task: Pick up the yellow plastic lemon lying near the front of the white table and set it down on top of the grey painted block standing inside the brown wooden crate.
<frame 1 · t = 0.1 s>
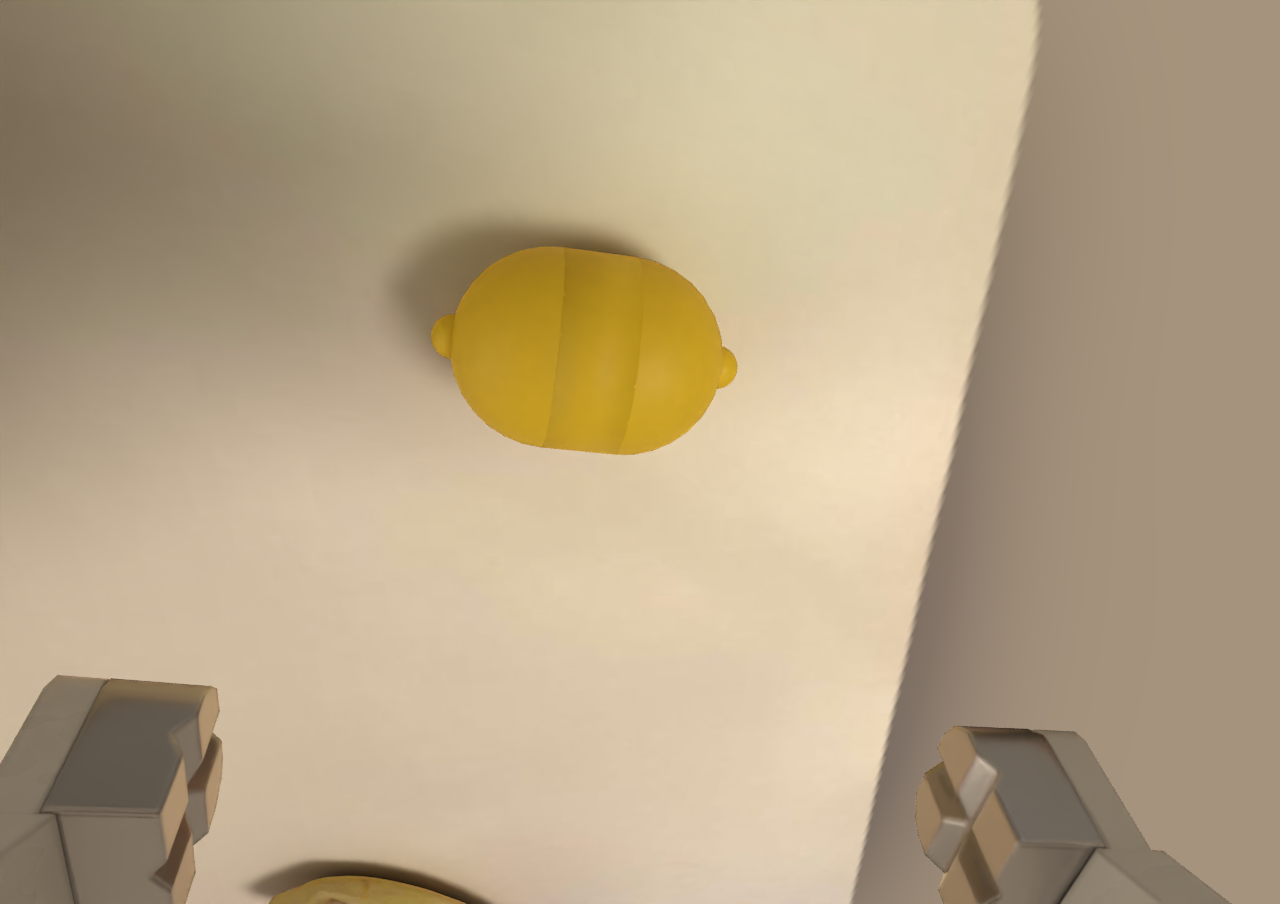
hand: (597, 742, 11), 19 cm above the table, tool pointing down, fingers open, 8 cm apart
lemon: (583, 310, 29), on the table
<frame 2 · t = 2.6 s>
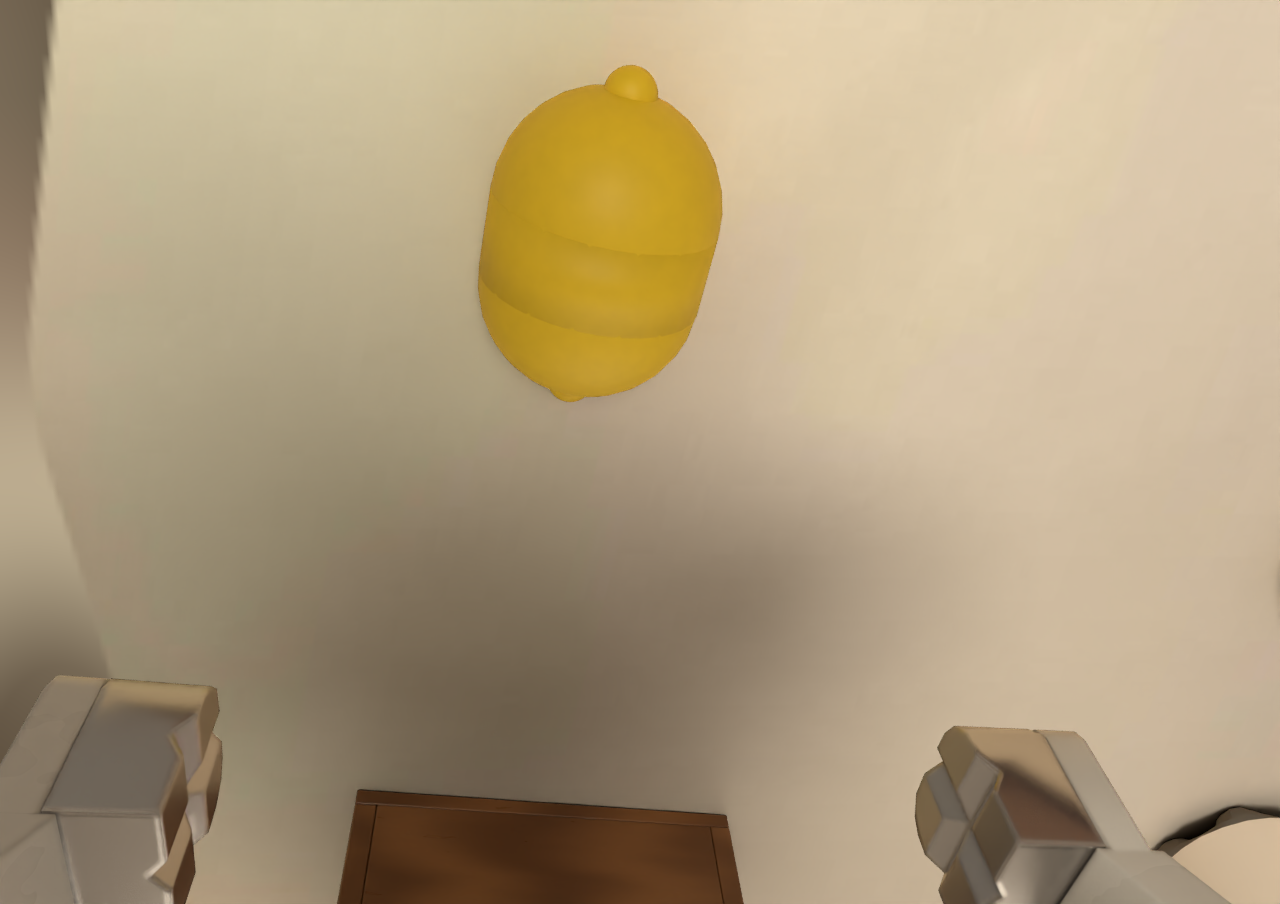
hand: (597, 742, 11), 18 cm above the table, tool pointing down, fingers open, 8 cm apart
cup: (1220, 849, 45), on the table
lemon: (592, 209, 26), on the table
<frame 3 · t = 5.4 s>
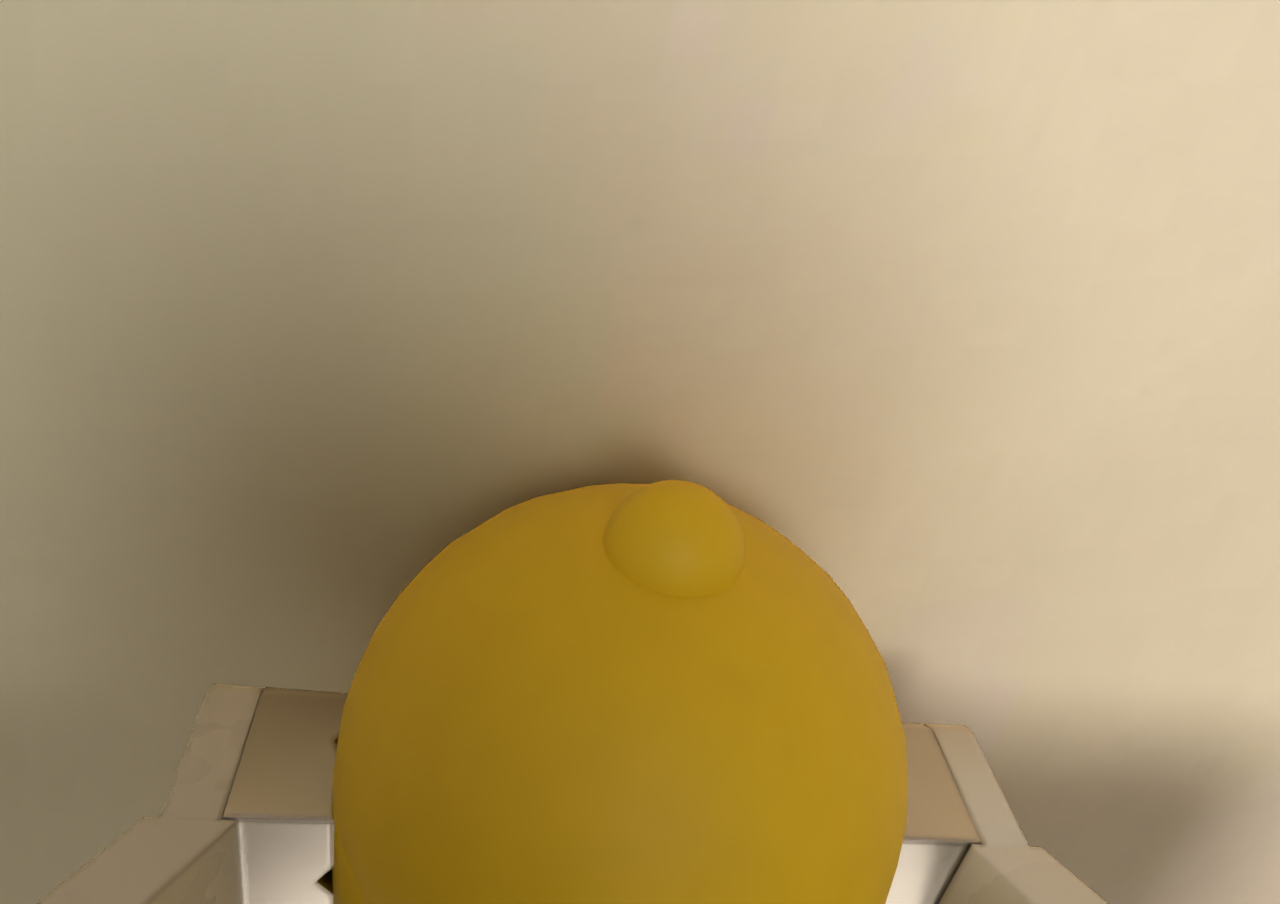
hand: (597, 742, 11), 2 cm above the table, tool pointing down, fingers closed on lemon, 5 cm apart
lemon: (593, 640, 12), on the table, touching gripper
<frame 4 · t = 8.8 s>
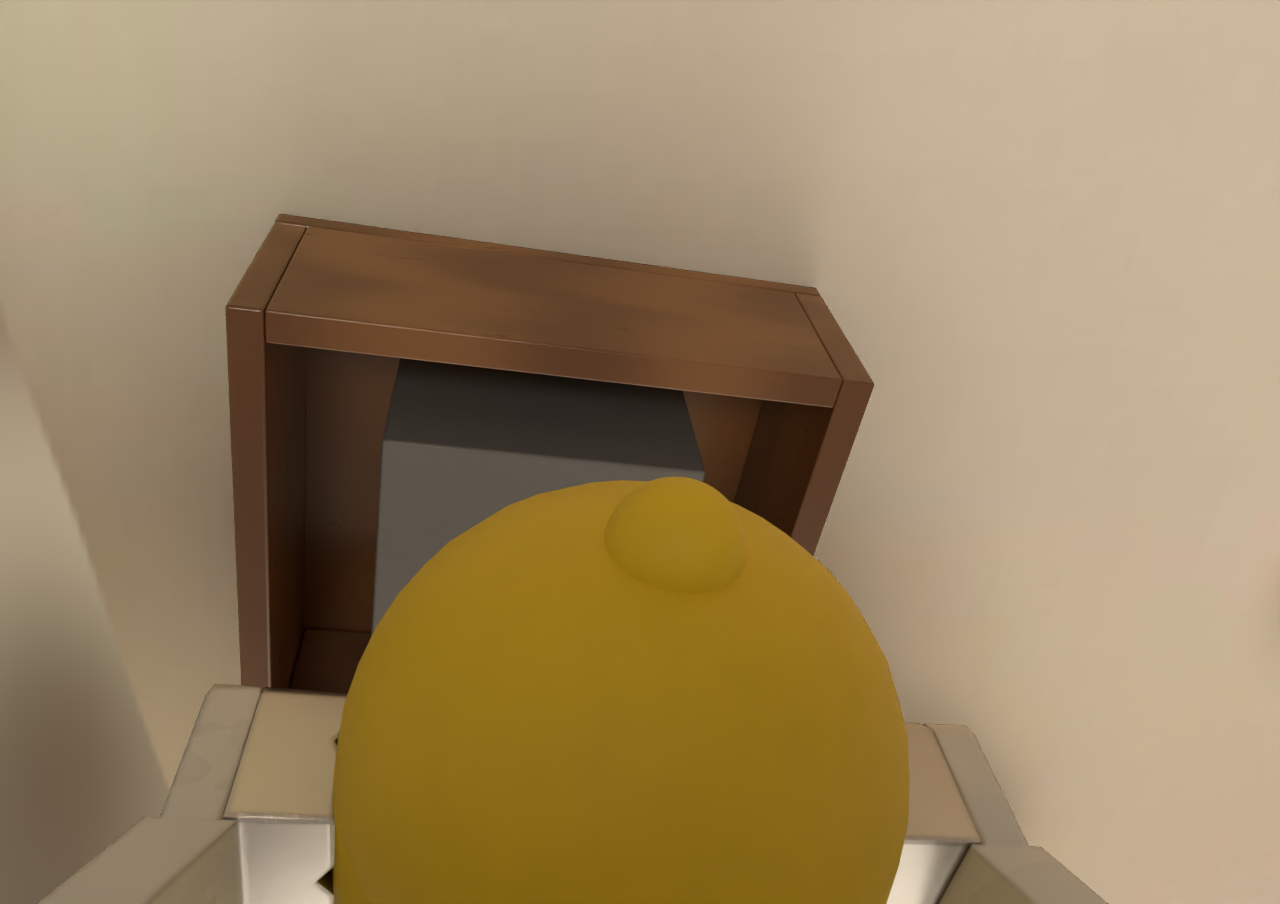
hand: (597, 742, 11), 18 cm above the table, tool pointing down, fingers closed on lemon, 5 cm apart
block: (527, 484, 30), point 1 cm above the table, touching crate
crate: (527, 473, 30), on the table
lemon: (594, 638, 12), point 16 cm above the table, touching gripper
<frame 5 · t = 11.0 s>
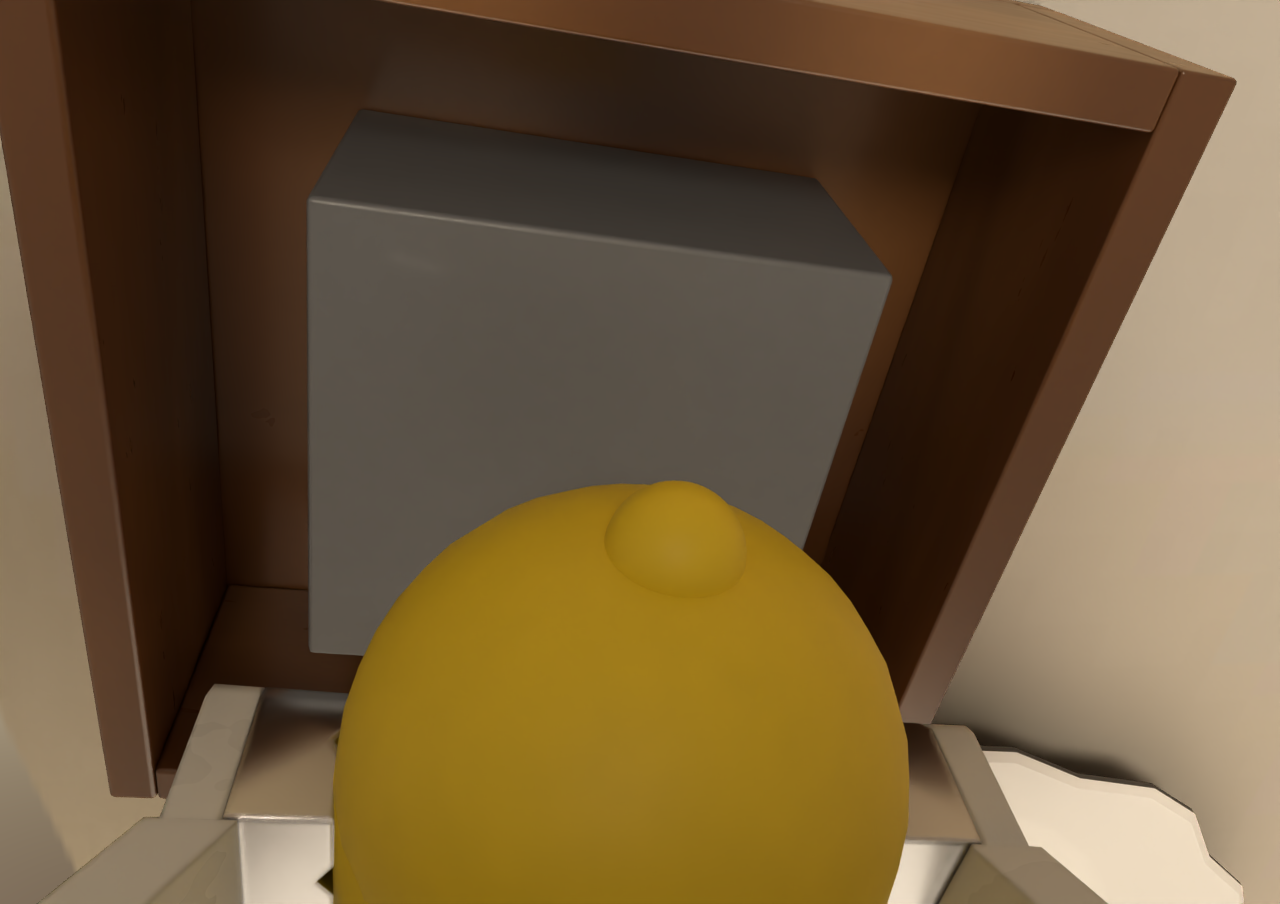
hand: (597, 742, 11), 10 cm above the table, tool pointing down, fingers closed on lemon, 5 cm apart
block: (566, 350, 19), point 1 cm above the table, touching crate
crate: (565, 336, 19), on the table
lemon: (594, 641, 12), point 9 cm above the table, touching gripper
when the fingers open (7 cm above the table, at t = 12.4 s): lemon stays where it is, resting on block.
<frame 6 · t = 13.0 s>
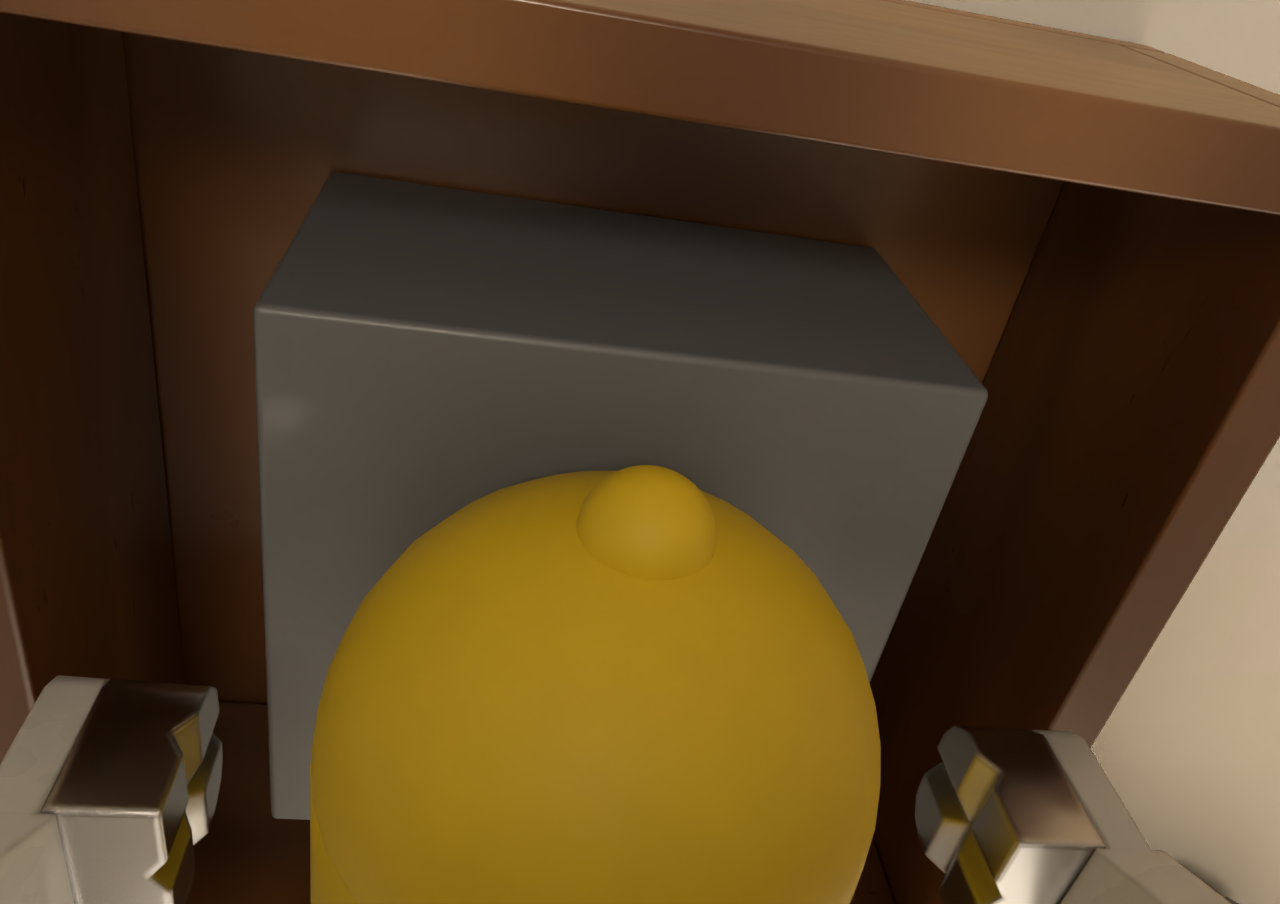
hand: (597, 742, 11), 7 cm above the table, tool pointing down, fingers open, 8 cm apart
block: (577, 442, 16), point 1 cm above the table, touching crate, lemon
crate: (576, 423, 17), on the table
lemon: (597, 632, 12), point 5 cm above the table, tilted 6°, touching block
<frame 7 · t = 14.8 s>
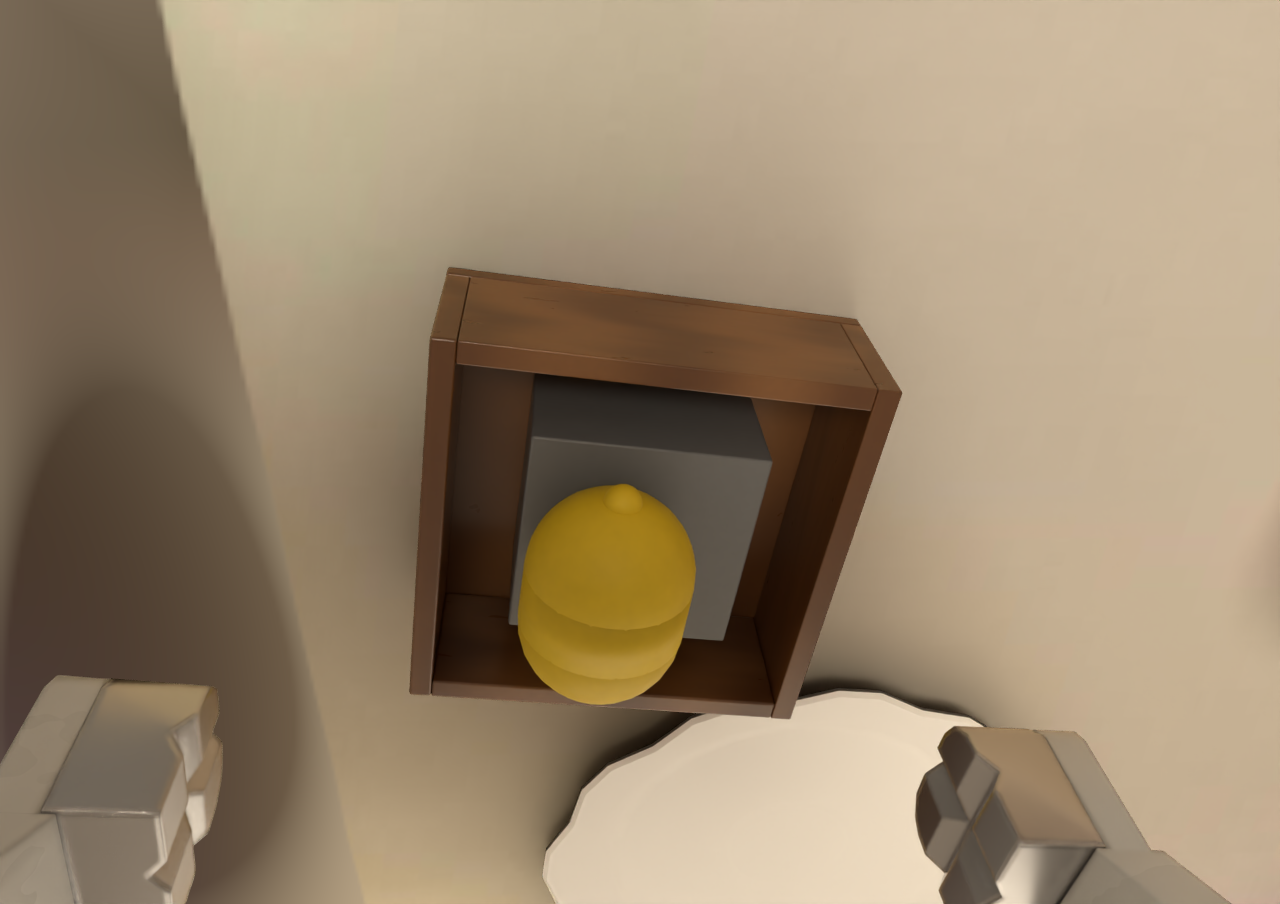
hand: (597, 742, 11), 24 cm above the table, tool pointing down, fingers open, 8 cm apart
block: (627, 475, 38), point 1 cm above the table, touching crate, lemon
crate: (626, 467, 38), on the table
plate: (787, 839, 51), on the table
lemon: (636, 552, 34), point 5 cm above the table, tilted 26°, touching block
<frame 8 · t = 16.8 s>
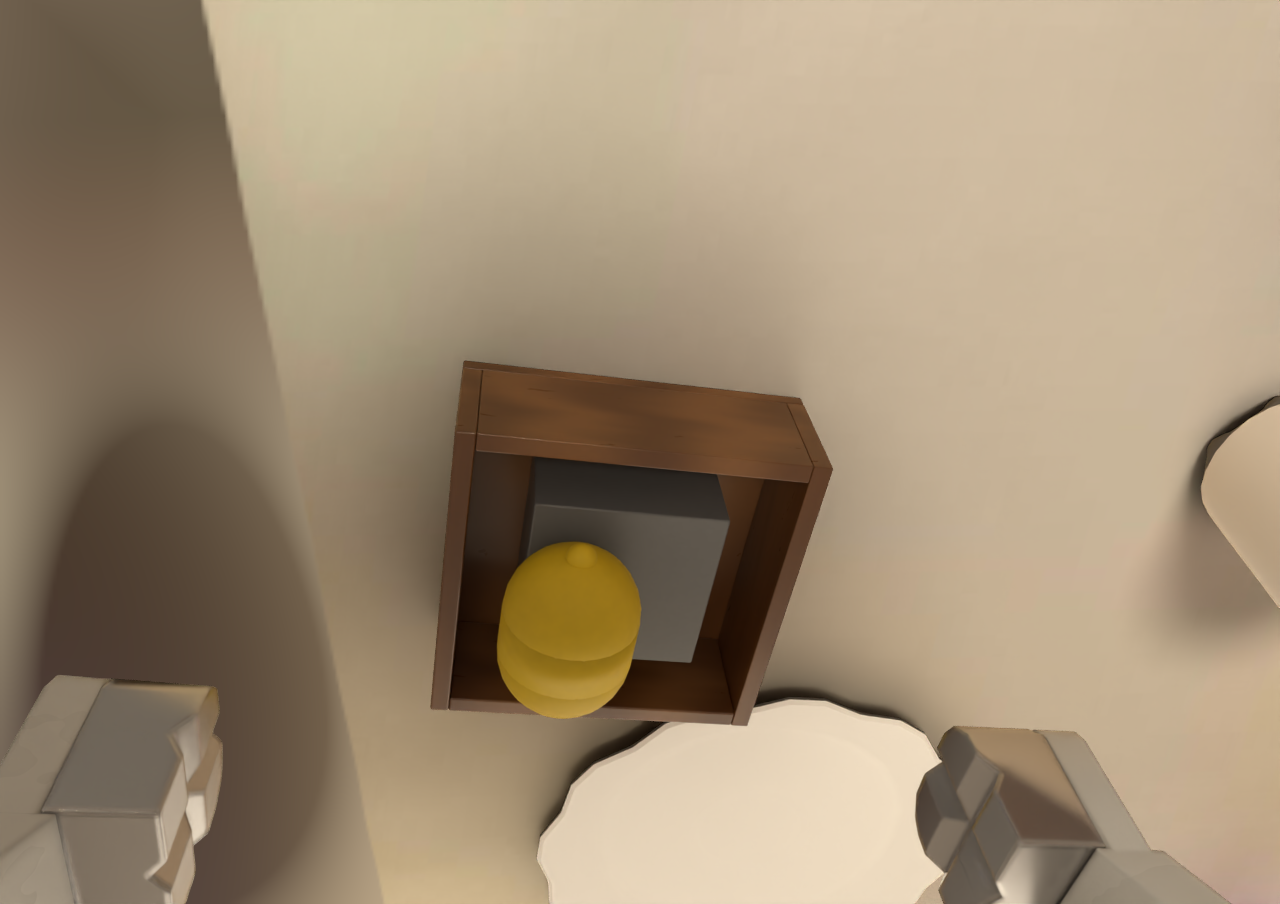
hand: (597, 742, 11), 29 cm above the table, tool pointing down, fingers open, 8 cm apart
block: (611, 524, 45), point 1 cm above the table, touching crate, lemon
crate: (610, 516, 46), on the table
cup: (1266, 453, 47), on the table
plate: (748, 824, 59), on the table
lemon: (615, 603, 40), point 6 cm above the table, tilted 49°, touching block
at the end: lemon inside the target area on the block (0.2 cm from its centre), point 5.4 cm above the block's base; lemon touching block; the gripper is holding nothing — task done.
